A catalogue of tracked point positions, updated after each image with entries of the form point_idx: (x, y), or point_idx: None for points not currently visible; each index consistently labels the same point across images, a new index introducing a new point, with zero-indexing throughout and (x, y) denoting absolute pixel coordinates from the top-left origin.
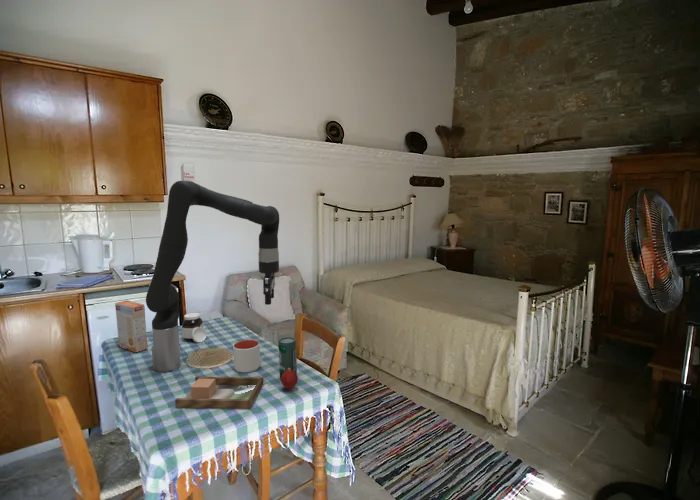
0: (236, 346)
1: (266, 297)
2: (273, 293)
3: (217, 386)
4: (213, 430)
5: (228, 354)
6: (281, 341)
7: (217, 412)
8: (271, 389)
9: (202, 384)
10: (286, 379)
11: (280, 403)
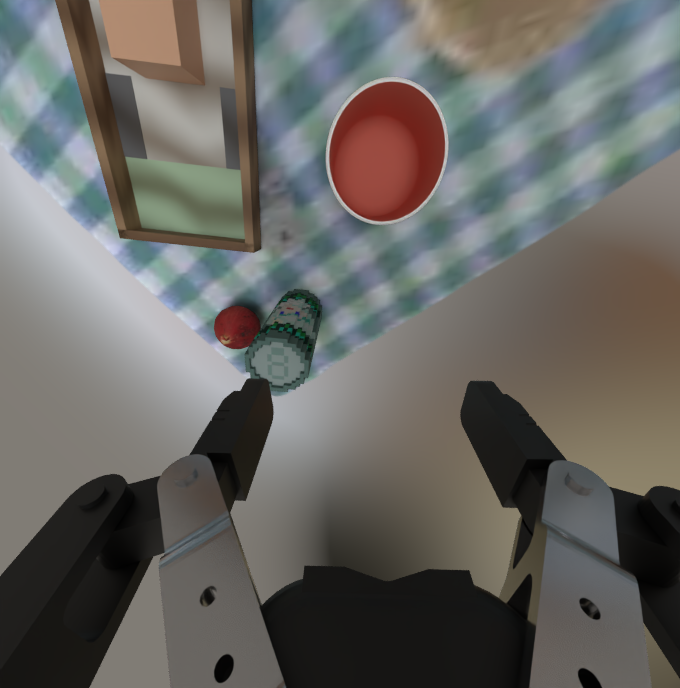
0: (412, 95)
1: (199, 446)
2: (478, 456)
3: (234, 80)
4: (22, 152)
5: (532, 34)
6: (274, 344)
7: None
8: (241, 273)
9: (123, 12)
10: (214, 326)
11: (181, 302)
